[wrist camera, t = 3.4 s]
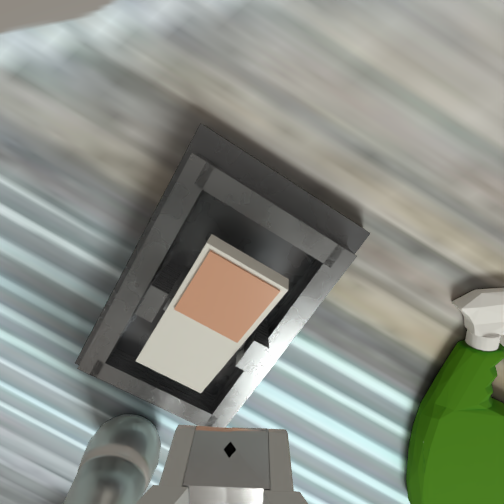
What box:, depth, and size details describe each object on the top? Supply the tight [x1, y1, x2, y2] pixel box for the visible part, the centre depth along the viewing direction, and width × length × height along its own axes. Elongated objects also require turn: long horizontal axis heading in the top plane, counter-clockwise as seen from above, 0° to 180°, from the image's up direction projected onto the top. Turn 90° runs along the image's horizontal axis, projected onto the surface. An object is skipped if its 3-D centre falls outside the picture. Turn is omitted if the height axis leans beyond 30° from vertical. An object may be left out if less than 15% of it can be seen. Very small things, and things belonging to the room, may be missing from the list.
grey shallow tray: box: [75, 124, 370, 428], centre depth 23 cm, size 22×14×6 cm, turn 148°
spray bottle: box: [406, 288, 504, 504], centre depth 28 cm, size 3×11×25 cm
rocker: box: [136, 234, 289, 393], centre depth 21 cm, size 12×6×1 cm, turn 148°
